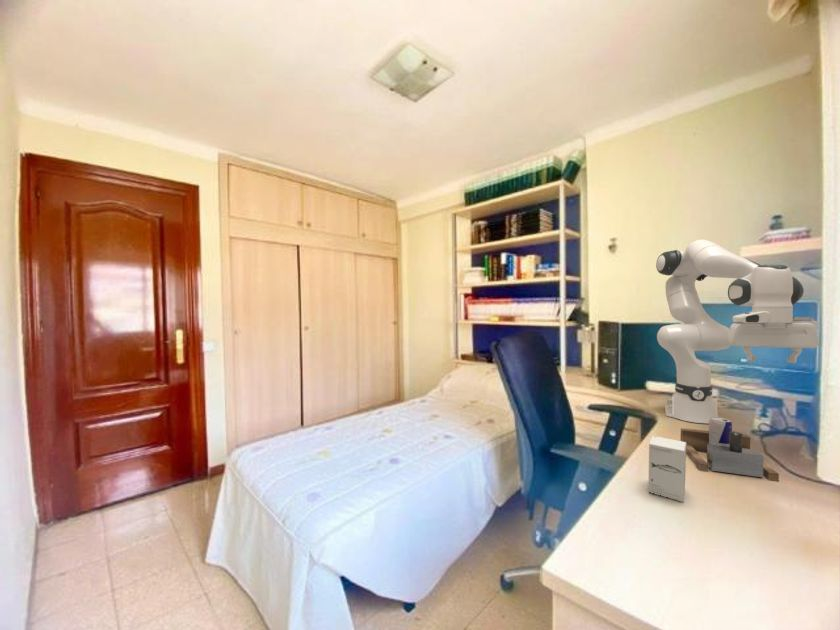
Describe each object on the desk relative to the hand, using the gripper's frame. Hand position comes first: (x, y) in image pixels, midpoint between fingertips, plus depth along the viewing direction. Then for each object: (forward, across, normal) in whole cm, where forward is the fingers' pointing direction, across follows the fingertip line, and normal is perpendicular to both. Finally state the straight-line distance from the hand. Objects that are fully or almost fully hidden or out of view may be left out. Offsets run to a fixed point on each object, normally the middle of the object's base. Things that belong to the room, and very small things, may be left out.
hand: (771, 361), depth 108 cm
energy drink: (+29, +15, +8) cm, 34 cm away
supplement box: (+29, +35, +37) cm, 59 cm away
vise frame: (+29, +15, +11) cm, 35 cm away
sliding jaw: (+29, +15, +18) cm, 37 cm away
